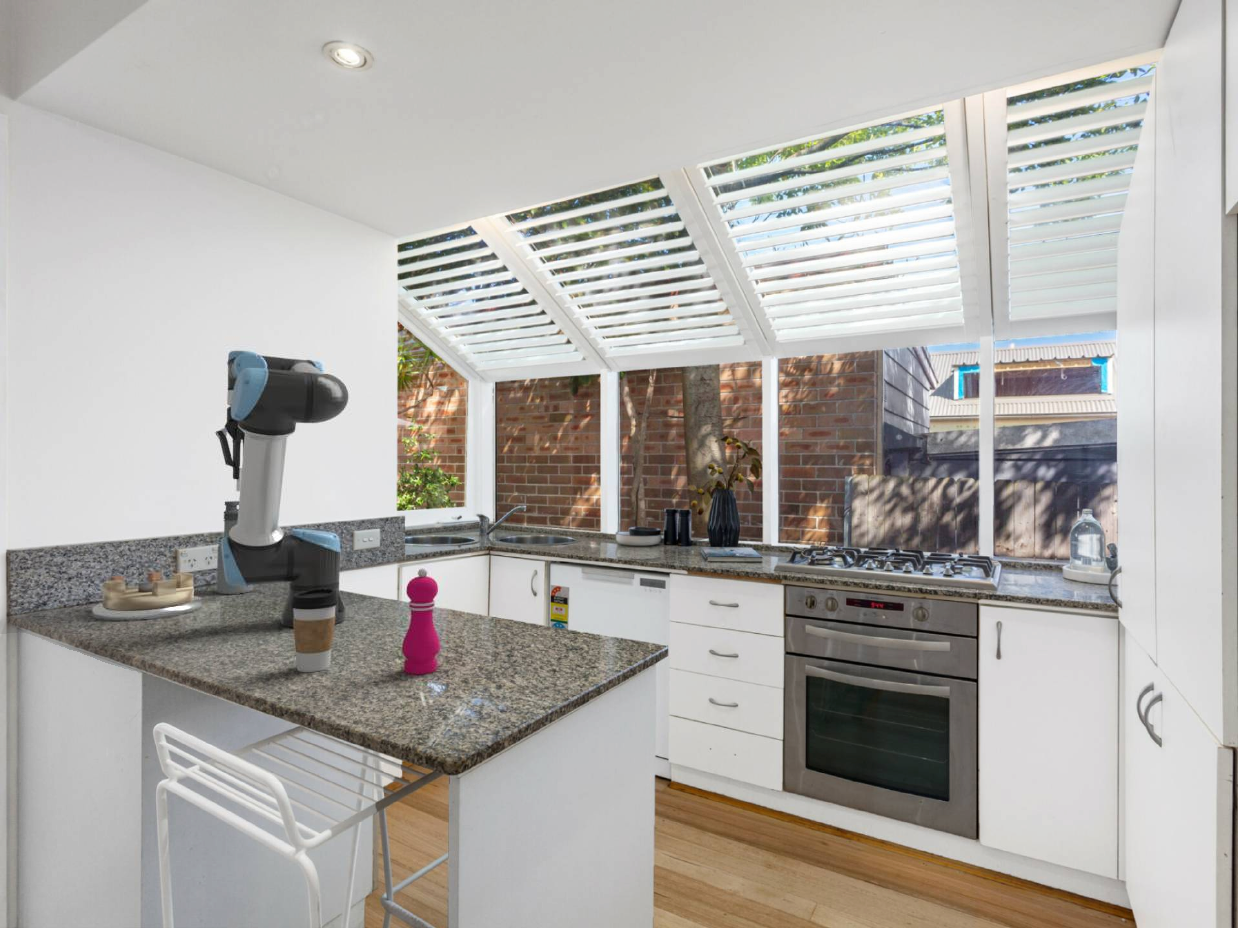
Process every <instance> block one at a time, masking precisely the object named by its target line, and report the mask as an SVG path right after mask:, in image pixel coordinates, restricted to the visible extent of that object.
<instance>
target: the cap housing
mask: <svg viewBox="0 0 1238 928" xmlns="http://www.w3.org/2000/svg"><path fill="white" fill-rule="evenodd" d="M202 607H203V598H202V597H200V596H197V595H196V596H195V595H194V599H193V600H192V601H190V602H188V603H184V604H180V605H175V606H169V607H162V608H153V609H140V610H114V609H107V608H104V607H103V602H101V603H98V604H96V605H94V606H93V607H92V618H94V619H97V620H100V619H101V620H103V621H109V620H110V621H112V622H114V621H115V620H116V621H115V622H120V620H132V621H140V620H139V619H147V620H156V619H155V618H157V619H163V618H171V617H170V616H172V617H176V616H177V617H178V616H181V614H183V615H187V614H190V613H189V612H191V613H193V612H197V611H198V610H200V609H202ZM196 610H197V611H196ZM113 620H114V621H113ZM118 620H119V621H118Z"/></svg>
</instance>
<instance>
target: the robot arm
mask: <svg viewBox="0 0 1238 928" xmlns="http://www.w3.org/2000/svg"><path fill="white" fill-rule="evenodd" d="M227 359H228V360H227V363H226V365H227V397H226V400H227V401H226V404H227V405H228V407H227V408H226V423H225V425H224V428H221V429H219V430H217V431H215V432H214V433H215V435H216V437H217V438H218V440H219V442H220V447H221V451H222V454H223V459H224V462H225V464H224V465H226V466H229V467H231V468H232V478H233V480H236V486H235V487H236V489H235V490H236V492H239V499H238V501H239V505H238V509H239V510H238V522H237V525H235V526H234V527H232V528H231V530H230V532H229V537H225V538H224V537H222V538H221V540H220V543H221V550H222V559H223V567H224V573H225V579H226V582H227V583H228V584H229V585H232V586H239V585H245V586H249V585H253V586H254V585H267V584H268V585H269V584H280V583H281V584H282V583H289V587H288V588H289V590H288V595H287V597H286V600H285V603H284V606H283V608H282V611H281V614H280V624H281V625H282V626H283V627H289V628H294V626H293V617H294V610H293V608H292V607H291V605H292V604H291V603H292V601H293V595H295V594H297V593H300V592H304V591H309V590H314V589H322V588H328V589H334V590H336V596H337V600H338V601H337V603H338V604H337V605H336V606H335V615H336V616H335V625H337V624H341V623H343V622H345V621H346V620H347V611H346V610H347V609H346V606H345V603H344V600H343V597H342V595H341V591H340V563H341V561H340V559H341V552H342V551H341V541H340V537H339V535H338V534H337V533H334V532H331V531H326V530H325V531H324V530H316V529H315V530H314V529H306V528H305V529H304V528H293V529H291V530H290V532H289V534H288V535H287V534H286V535H285V534H284V530H283V529H282V528H281V527H280V526H279V517H280V508H281V499H282V498H281V497H282V489H283V487H282V486H283V478H284V470H285V469H284V468H285V458H286V451H287V441H288V437H290V436H291V435H293V434H294V433H295V432H296V428H297V426H296V425H297V424H319V423H324V422H326V421H330V420H333V419H334V418H336V417H338V416H339V415H340V414H341V413H342V412H343V411H344V410H345V409H346V407H347V404H348V402H349V391H348V388H347V386H346V385H345V383H344V382H343V381H342V380H341V379H339V378H338V377H337V376H335V375H333V374H330V373H324V367H323V364H322V363H321V362H320V361H317V360H316V361H315V360H312V359H299V358H298V359H297V358H286V357H277V356H268V355H261V354H258V353H256V352H253V351H249V350H231V351H229V352H228V358H227ZM228 435H229V436H230V437H231V438H232V454H231V449H230V446H229V445H230V444H229V441H228V438H227V436H228ZM241 443H242V464H241Z"/></svg>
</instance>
